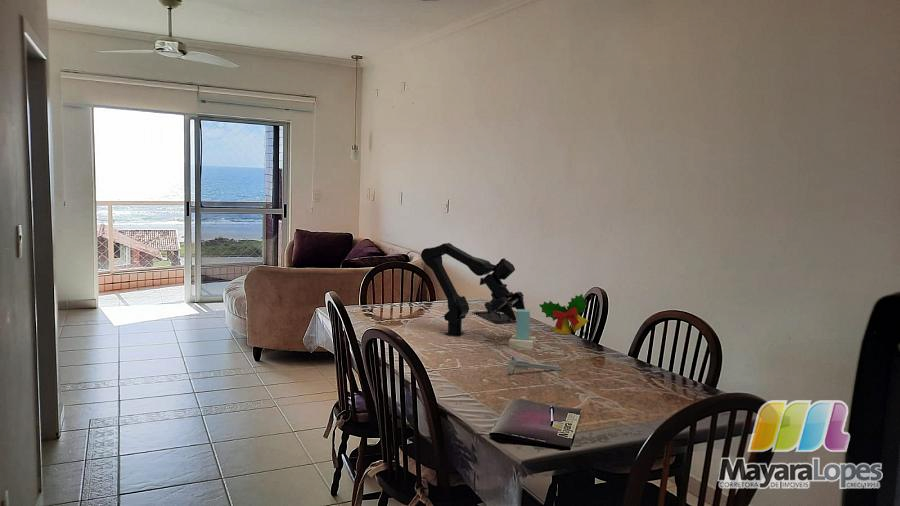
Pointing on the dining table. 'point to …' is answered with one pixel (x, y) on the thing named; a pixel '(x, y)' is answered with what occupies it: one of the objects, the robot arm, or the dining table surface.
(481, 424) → the dining table surface
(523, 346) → the birch block
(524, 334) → the teal block
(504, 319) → the circuit board
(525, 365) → the caliper
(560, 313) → the ornament
